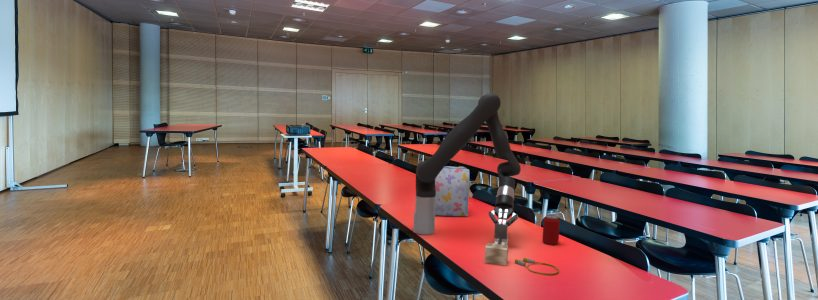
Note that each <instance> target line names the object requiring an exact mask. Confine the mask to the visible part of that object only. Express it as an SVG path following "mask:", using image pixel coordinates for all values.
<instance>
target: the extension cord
mask: <svg viewBox="0 0 818 300" xmlns="http://www.w3.org/2000/svg"><path fill="white" fill-rule="evenodd" d="M526 263H527V265H526ZM514 264H516V265H518V266H523V267H525V269H526V270H528V271H529V272H531V273H534V274H538V275H542V276H556V275H558V274H559V272H560V270H559V269H560V268H558V267H557V266H556V265H553V264H550V263H546V262H540V261H535V260H534V259H532V258H526V257H523V258H522V260H521V259H517V258H516V259H514ZM537 264H541V265H543V266H544V265H545V266H550V267H552V268H554V270H556V272H553V273H548V272H547V273H546V272H540V271H535V270H532V269H530V268H529V267H530V266H533V265H537Z"/></svg>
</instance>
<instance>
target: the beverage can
mask: <svg viewBox="0 0 818 300" xmlns="http://www.w3.org/2000/svg"><path fill="white" fill-rule="evenodd" d="M542 223H543V226H542V242H543V243H544V244H546V245H550V246H556V245H557V244H559V240H560V239H559V238H560V237H559V236H560V226H561V225H560V223H561V222H560V219H559V216H557V215H553V214H551V215H550V214H546V215H545V216H544V218H543V222H542Z"/></svg>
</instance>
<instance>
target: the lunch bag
mask: <svg viewBox="0 0 818 300" xmlns="http://www.w3.org/2000/svg"><path fill="white" fill-rule="evenodd" d="M435 188H436V201H435V216H438V217H439V216H446V217H468V216H469V196H470V169H468V168H466V167H465V166H450V165H449V166H448V165H447V166H446V165H445V166H444V168H443V169H442V170H441V172H440V173H439V174H438V176H437V177H436V178H435Z"/></svg>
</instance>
